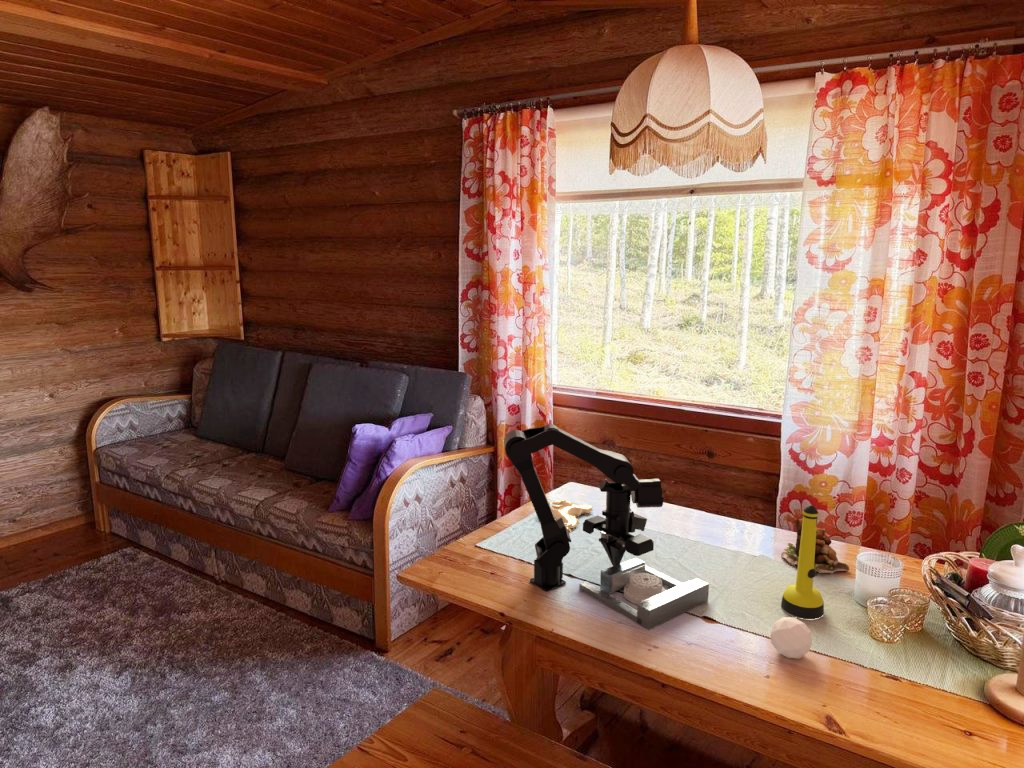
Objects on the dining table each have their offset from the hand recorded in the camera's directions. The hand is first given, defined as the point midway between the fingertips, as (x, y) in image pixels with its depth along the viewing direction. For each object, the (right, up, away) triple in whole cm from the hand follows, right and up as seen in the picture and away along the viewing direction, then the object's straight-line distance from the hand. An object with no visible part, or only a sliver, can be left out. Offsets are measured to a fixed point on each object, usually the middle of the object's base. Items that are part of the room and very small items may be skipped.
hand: (615, 567), depth 165 cm
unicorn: (-8, +4, +40) cm, 41 cm away
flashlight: (+40, -6, -13) cm, 43 cm away
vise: (+5, -5, -6) cm, 9 cm away
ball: (+30, -10, -30) cm, 43 cm away
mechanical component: (+6, -5, -7) cm, 10 cm away
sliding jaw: (+1, -4, -1) cm, 4 cm away
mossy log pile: (+53, -2, +10) cm, 54 cm away
